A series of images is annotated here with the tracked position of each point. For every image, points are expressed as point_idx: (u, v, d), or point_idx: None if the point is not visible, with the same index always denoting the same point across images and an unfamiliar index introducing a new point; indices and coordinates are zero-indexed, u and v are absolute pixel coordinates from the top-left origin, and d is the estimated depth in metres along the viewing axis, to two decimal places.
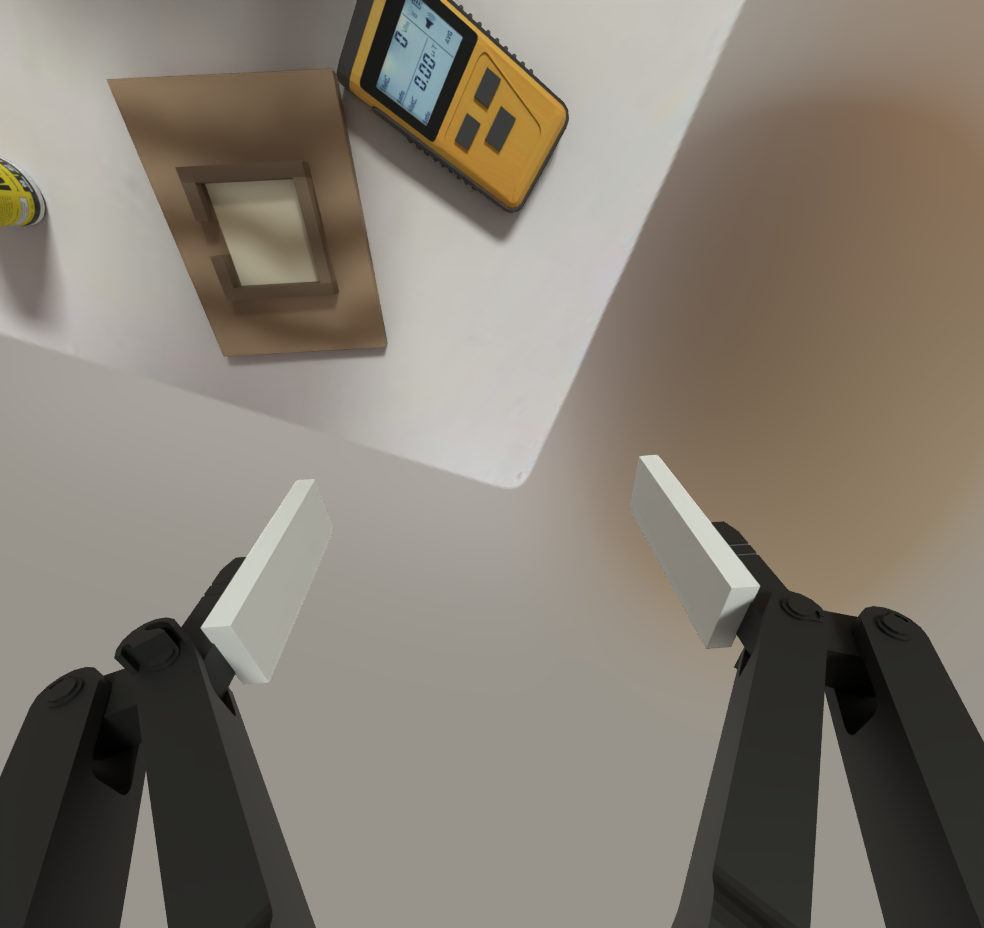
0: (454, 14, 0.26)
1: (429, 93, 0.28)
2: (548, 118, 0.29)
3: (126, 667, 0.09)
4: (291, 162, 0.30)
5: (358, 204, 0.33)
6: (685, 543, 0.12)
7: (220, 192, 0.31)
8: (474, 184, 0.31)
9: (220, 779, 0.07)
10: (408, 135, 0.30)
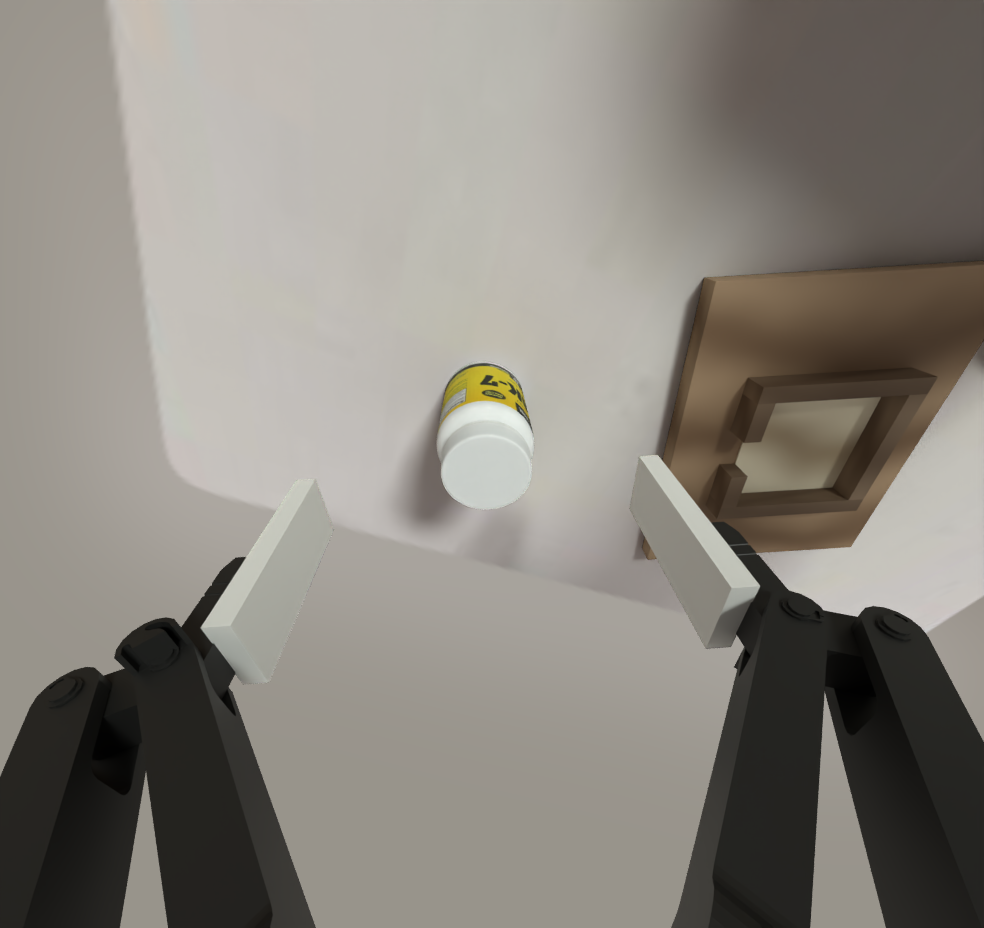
0: None
1: None
2: None
3: (126, 667, 0.09)
4: (922, 379, 0.21)
5: None
6: (685, 543, 0.12)
7: None
8: None
9: (220, 779, 0.07)
10: None
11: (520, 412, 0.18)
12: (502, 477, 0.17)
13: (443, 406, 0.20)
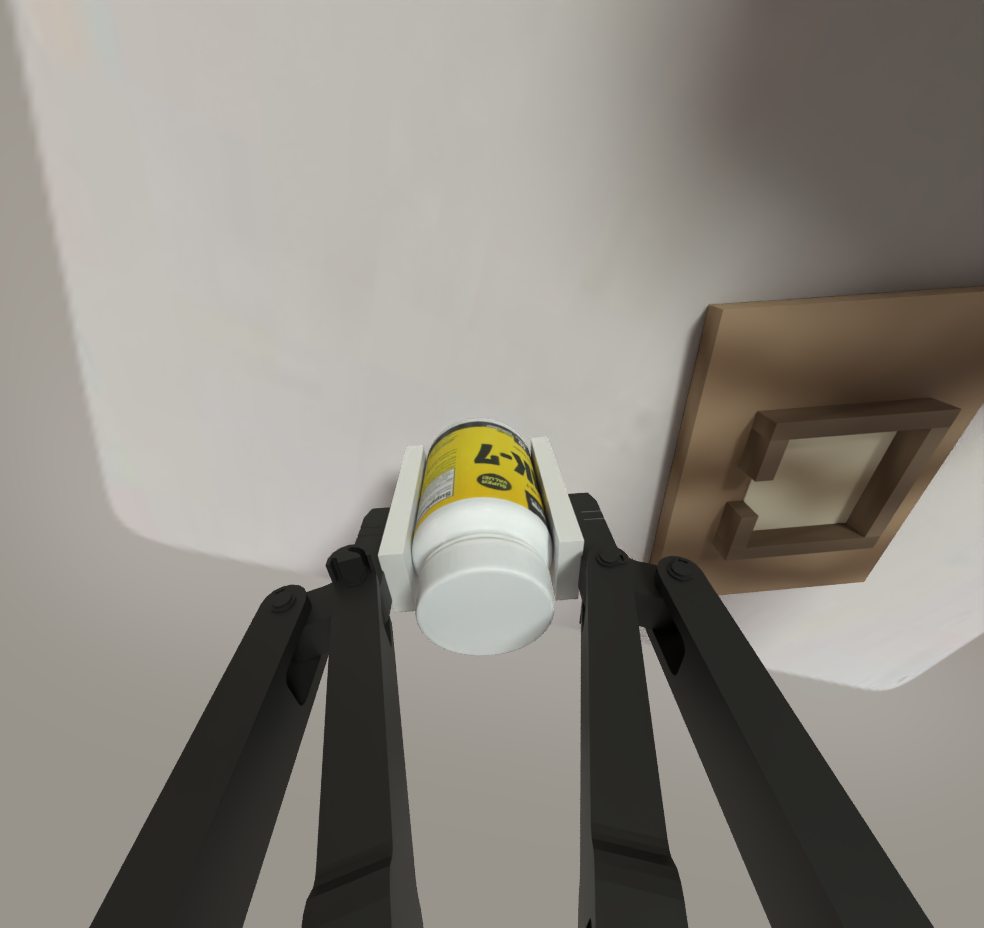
0: None
1: None
2: None
3: (330, 575, 0.11)
4: (946, 411, 0.19)
5: None
6: (546, 510, 0.14)
7: None
8: None
9: (375, 703, 0.08)
10: None
11: (533, 509, 0.13)
12: (510, 618, 0.11)
13: (423, 489, 0.14)
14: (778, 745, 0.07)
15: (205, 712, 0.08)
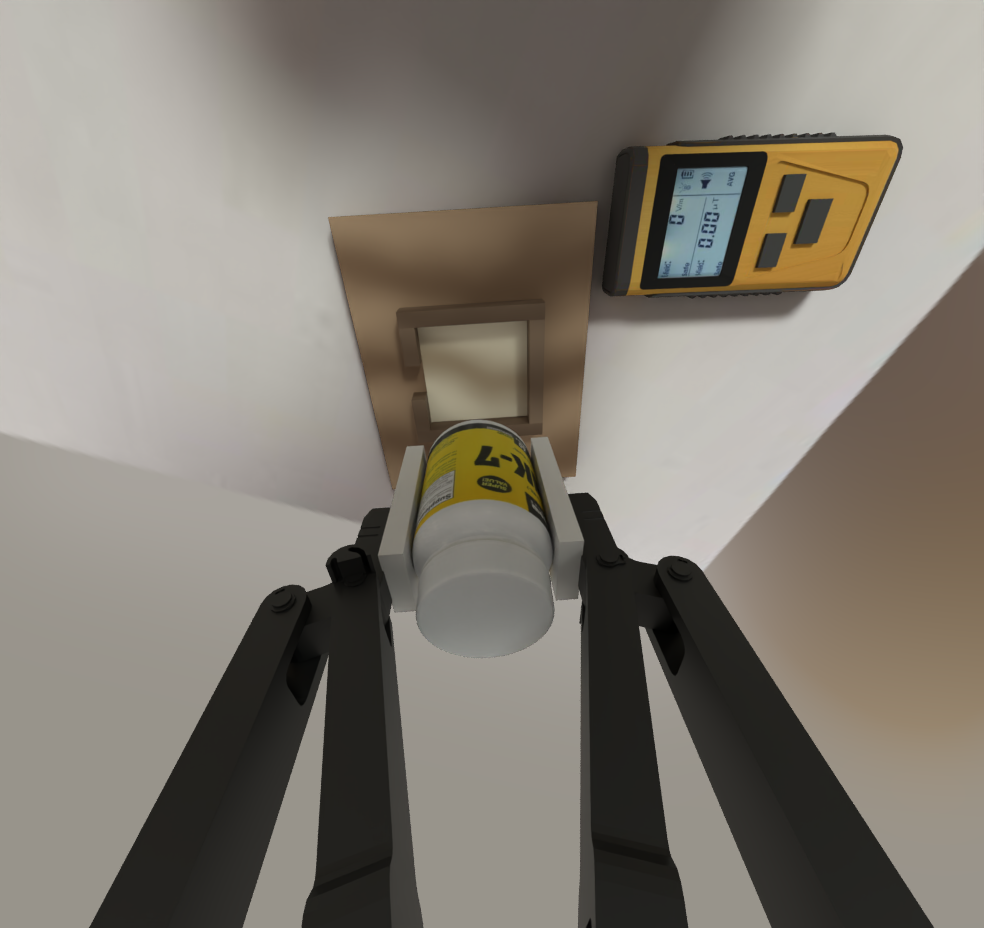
0: (732, 152, 0.21)
1: (717, 245, 0.24)
2: (877, 168, 0.22)
3: (330, 575, 0.11)
4: (533, 305, 0.25)
5: None
6: (546, 510, 0.14)
7: (432, 331, 0.27)
8: (782, 291, 0.26)
9: (375, 703, 0.08)
10: (695, 295, 0.26)
11: (533, 511, 0.13)
12: (510, 621, 0.11)
13: (423, 490, 0.14)
14: (778, 745, 0.07)
15: (205, 712, 0.08)
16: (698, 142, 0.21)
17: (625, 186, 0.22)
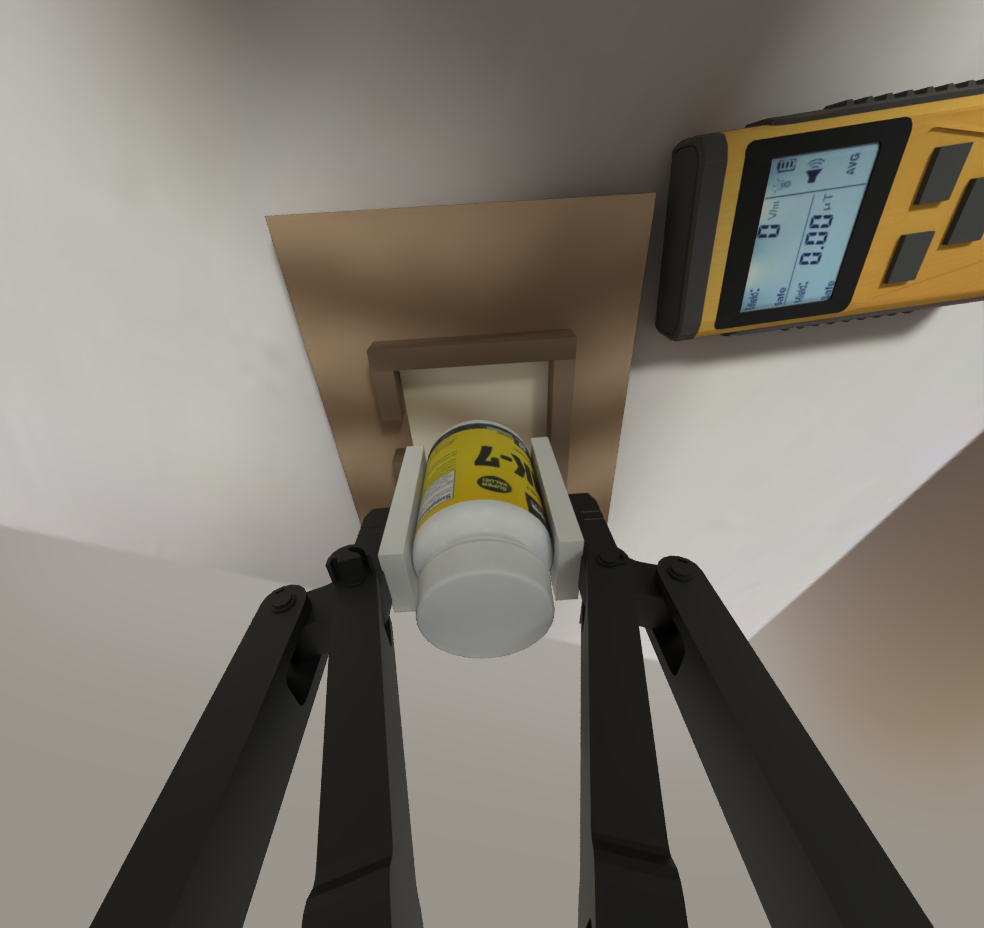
0: (854, 125, 0.14)
1: (828, 259, 0.16)
2: None
3: (330, 575, 0.11)
4: (559, 340, 0.18)
5: None
6: (546, 510, 0.14)
7: (419, 371, 0.19)
8: (919, 309, 0.18)
9: (375, 703, 0.08)
10: None
11: (533, 511, 0.13)
12: (510, 621, 0.11)
13: (423, 491, 0.14)
14: (778, 745, 0.07)
15: (205, 712, 0.08)
16: (802, 116, 0.14)
17: (691, 192, 0.15)
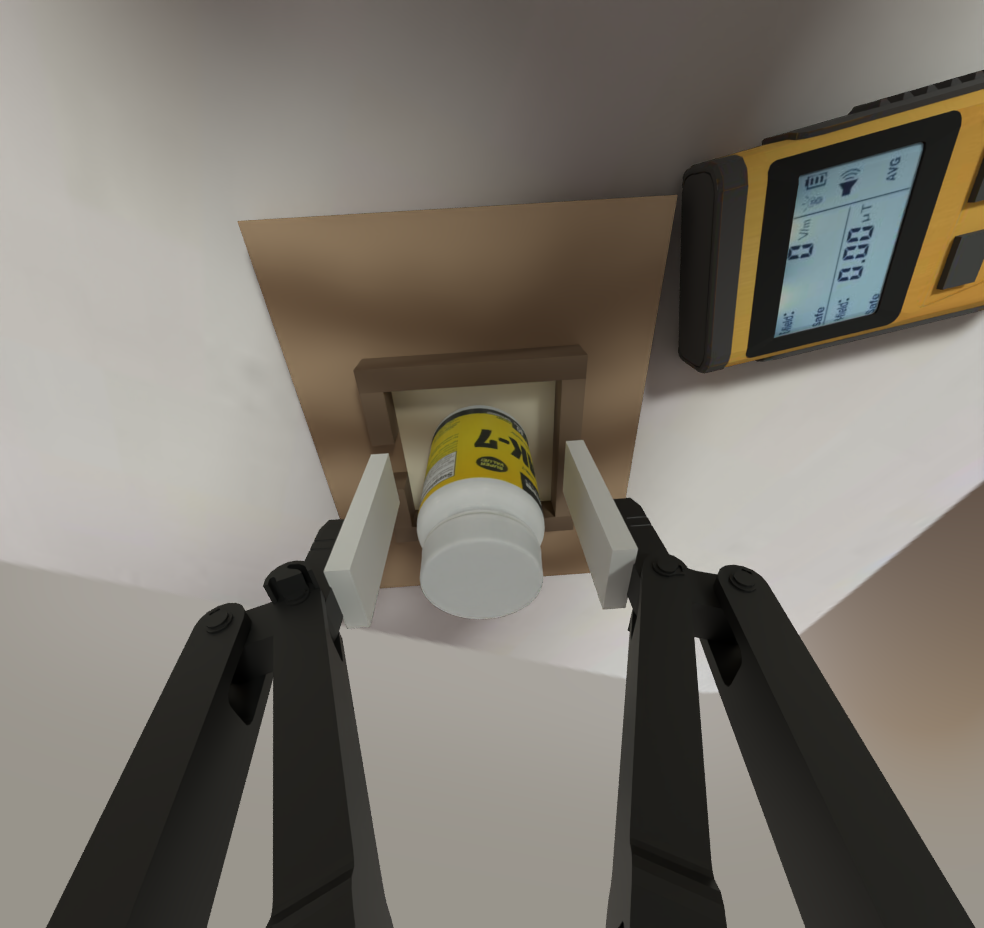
0: (892, 127, 0.13)
1: (870, 272, 0.15)
2: None
3: (269, 596, 0.10)
4: (568, 358, 0.16)
5: None
6: (590, 516, 0.14)
7: (413, 391, 0.18)
8: (980, 309, 0.16)
9: (327, 720, 0.08)
10: None
11: (527, 489, 0.14)
12: (503, 585, 0.12)
13: (427, 470, 0.16)
14: (840, 769, 0.07)
15: (138, 745, 0.08)
16: (830, 125, 0.13)
17: (709, 222, 0.14)
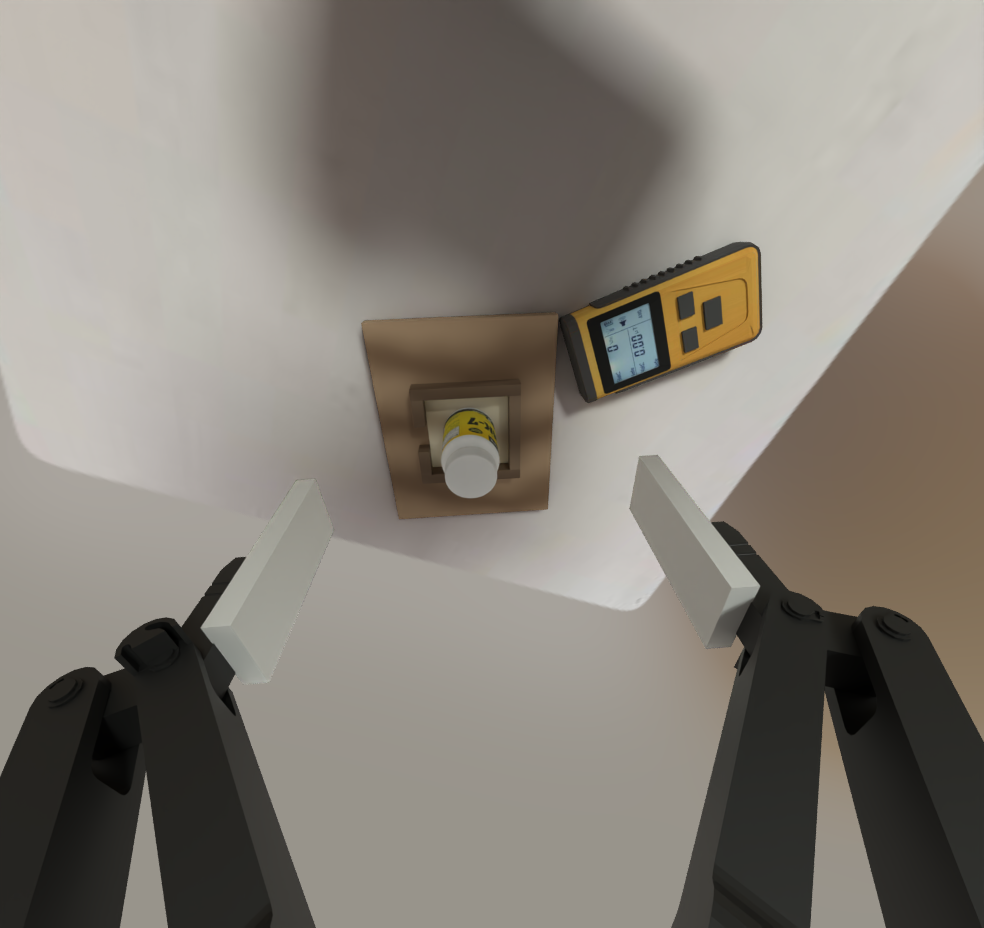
0: (634, 300, 0.31)
1: (648, 350, 0.33)
2: (745, 267, 0.30)
3: (126, 667, 0.09)
4: (511, 385, 0.33)
5: (552, 406, 0.36)
6: (685, 543, 0.12)
7: (435, 400, 0.35)
8: (713, 355, 0.34)
9: (220, 779, 0.07)
10: None
11: (491, 441, 0.31)
12: (480, 478, 0.29)
13: (444, 436, 0.33)
14: None
15: None
16: (608, 302, 0.31)
17: (569, 342, 0.32)
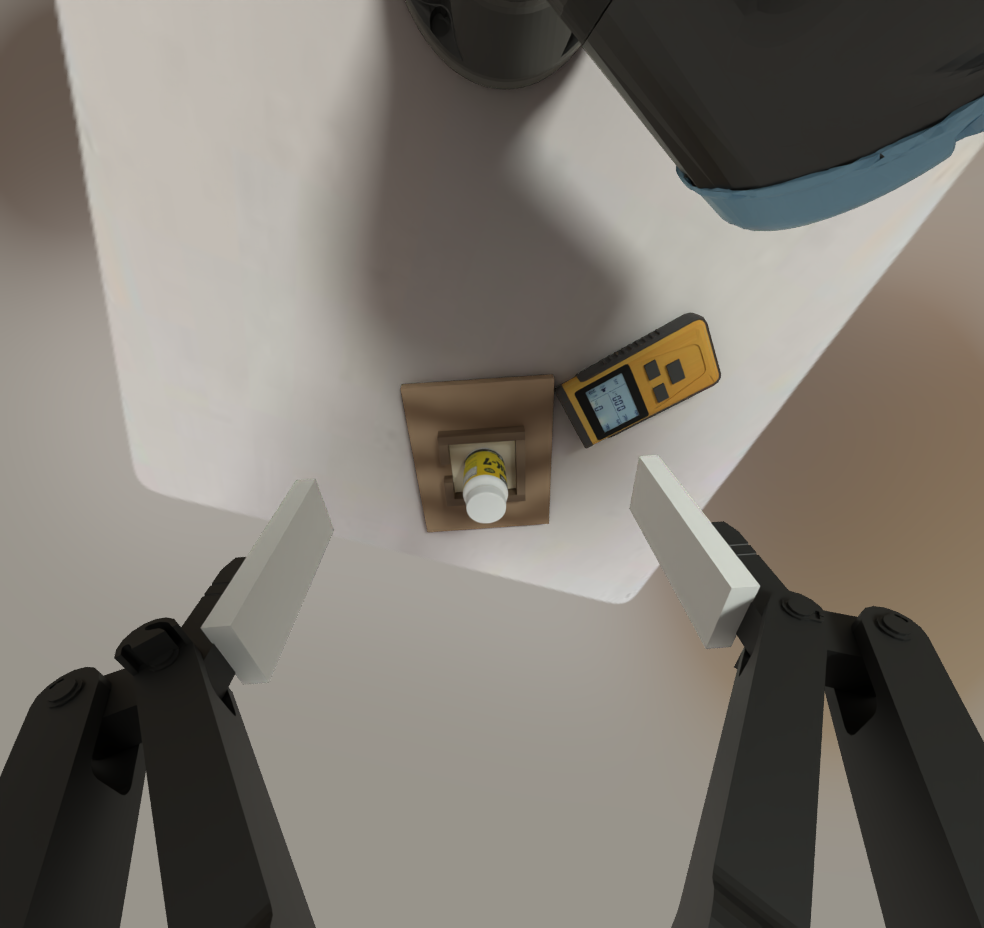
0: (609, 372, 0.39)
1: (628, 405, 0.41)
2: (695, 336, 0.37)
3: (126, 667, 0.09)
4: (517, 433, 0.42)
5: None
6: (685, 543, 0.12)
7: None
8: (684, 399, 0.42)
9: (220, 779, 0.07)
10: (632, 425, 0.43)
11: (501, 479, 0.40)
12: (493, 509, 0.39)
13: (465, 473, 0.42)
14: None
15: None
16: (589, 377, 0.40)
17: (564, 408, 0.41)
